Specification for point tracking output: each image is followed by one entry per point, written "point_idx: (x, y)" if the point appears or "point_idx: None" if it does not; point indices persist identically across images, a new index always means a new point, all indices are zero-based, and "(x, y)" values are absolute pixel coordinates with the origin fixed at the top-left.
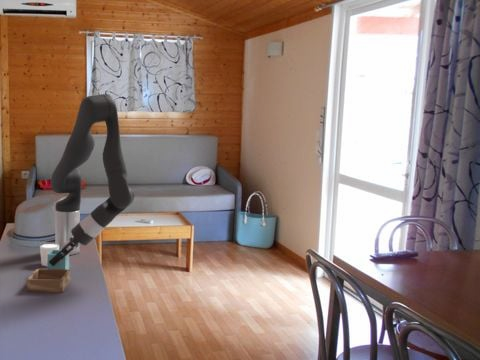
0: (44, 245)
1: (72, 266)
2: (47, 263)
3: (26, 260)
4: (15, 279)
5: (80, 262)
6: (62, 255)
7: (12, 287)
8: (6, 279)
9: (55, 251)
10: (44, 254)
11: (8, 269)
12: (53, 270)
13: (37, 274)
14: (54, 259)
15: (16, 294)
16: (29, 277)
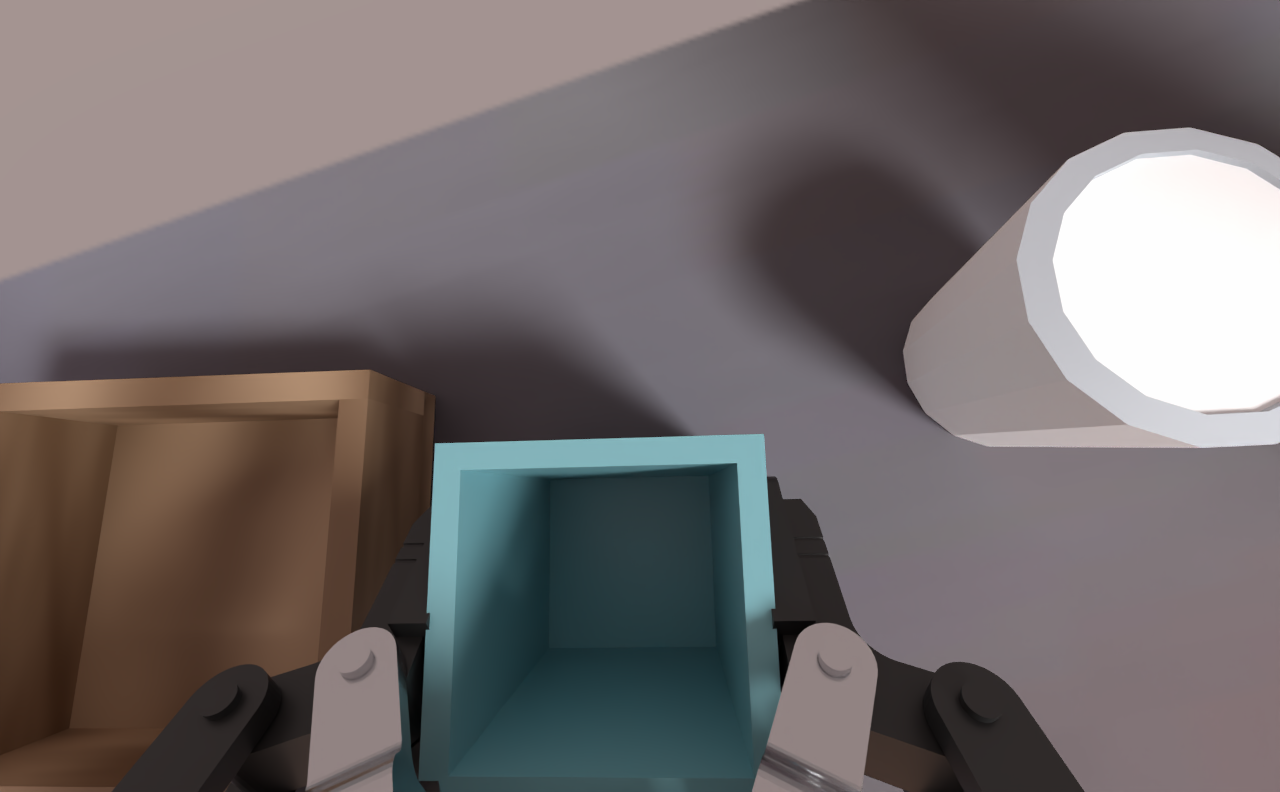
0: (1202, 187)
1: (956, 646)
2: (915, 355)
3: (1061, 103)
4: (455, 205)
5: (1150, 714)
6: (424, 739)
7: (245, 252)
8: (453, 136)
9: (736, 512)
10: (970, 281)
11: (736, 54)
12: (330, 584)
13: (306, 408)
14: (393, 583)
15: (72, 341)
16: (48, 385)
